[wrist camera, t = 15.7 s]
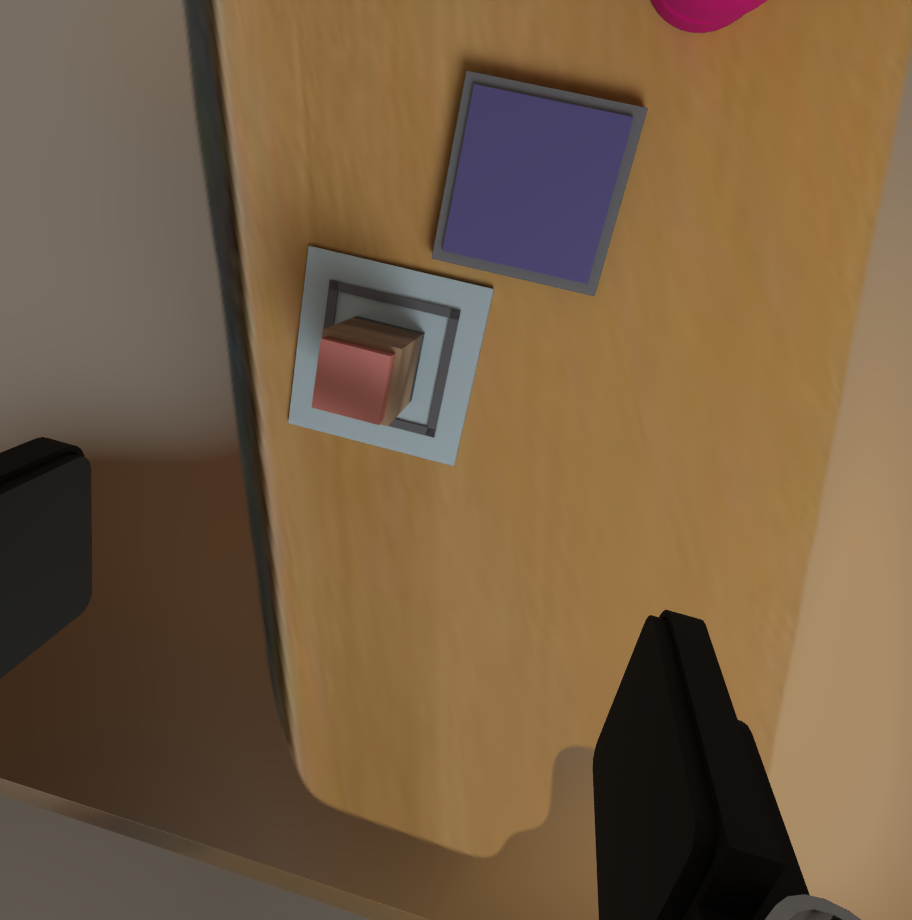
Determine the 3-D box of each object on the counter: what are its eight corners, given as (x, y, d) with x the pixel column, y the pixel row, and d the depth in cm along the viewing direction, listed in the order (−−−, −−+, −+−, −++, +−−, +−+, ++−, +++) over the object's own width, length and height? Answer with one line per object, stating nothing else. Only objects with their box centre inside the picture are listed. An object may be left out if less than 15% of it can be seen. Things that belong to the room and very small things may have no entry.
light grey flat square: (310, 245, 40) (307, 245, 40) (493, 288, 39) (493, 289, 39) (290, 421, 45) (287, 423, 44) (454, 464, 44) (453, 467, 43)
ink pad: (469, 74, 35) (465, 69, 34) (645, 111, 35) (648, 107, 33) (434, 257, 39) (430, 258, 38) (593, 294, 38) (594, 296, 37)
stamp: (356, 315, 41) (316, 331, 34) (424, 332, 40) (397, 352, 34) (346, 383, 43) (306, 411, 36) (411, 400, 42) (383, 431, 36)
